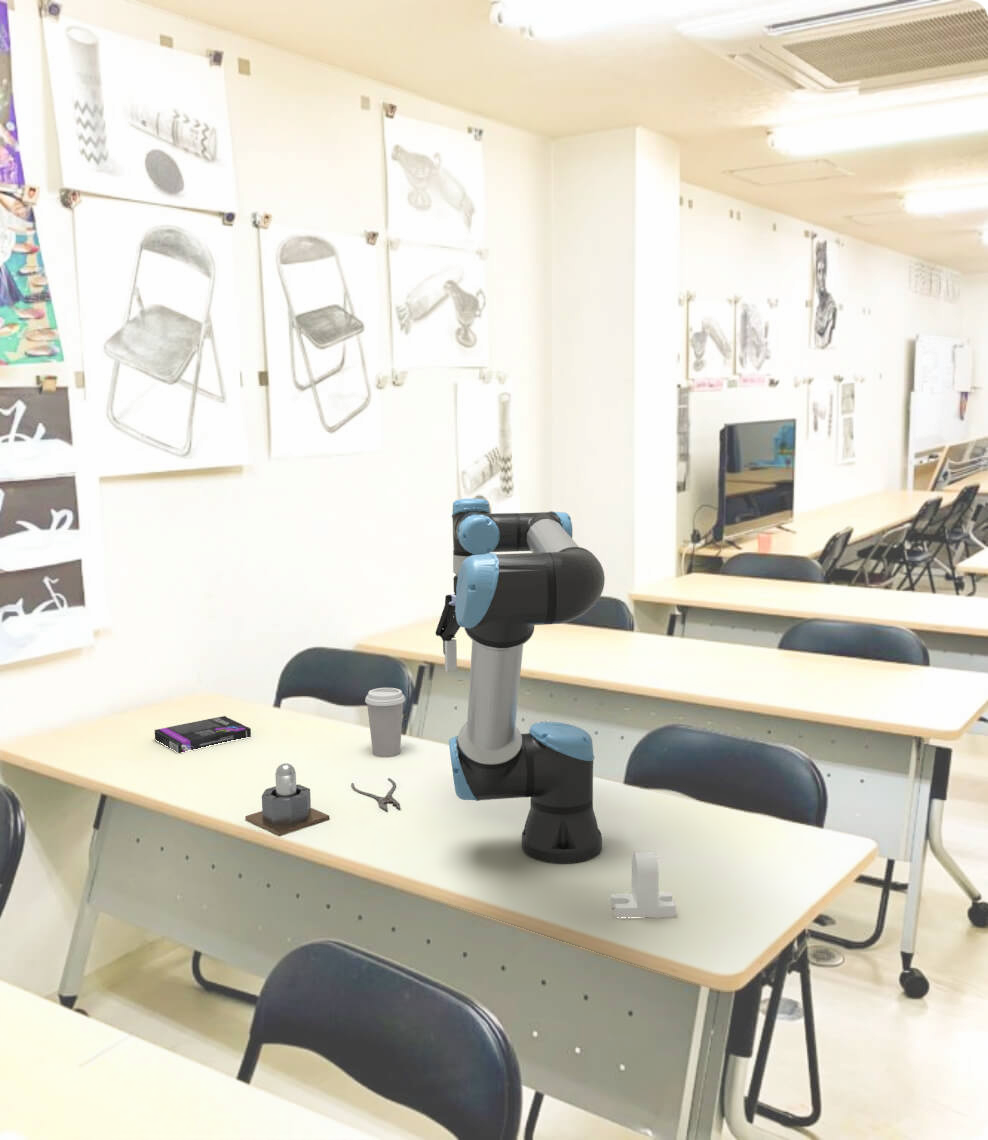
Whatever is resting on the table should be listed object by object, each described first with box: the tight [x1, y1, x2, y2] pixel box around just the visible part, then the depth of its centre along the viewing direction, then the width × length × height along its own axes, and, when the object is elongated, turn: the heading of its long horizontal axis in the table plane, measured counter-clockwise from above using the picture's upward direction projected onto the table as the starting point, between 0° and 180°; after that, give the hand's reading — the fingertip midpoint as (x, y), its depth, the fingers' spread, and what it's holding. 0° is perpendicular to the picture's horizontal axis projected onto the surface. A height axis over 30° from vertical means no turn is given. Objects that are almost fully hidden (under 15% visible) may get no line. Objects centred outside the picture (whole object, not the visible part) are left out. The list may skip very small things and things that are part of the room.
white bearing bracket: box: [610, 851, 677, 918], centre depth 182 cm, size 5×10×10 cm, turn 93°
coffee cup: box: [364, 687, 406, 758], centre depth 264 cm, size 10×10×15 cm
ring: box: [261, 784, 312, 825], centre depth 223 cm, size 9×9×5 cm
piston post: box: [244, 763, 331, 837], centre depth 223 cm, size 12×12×12 cm
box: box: [154, 715, 252, 754], centre depth 278 cm, size 14×4×20 cm
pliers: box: [350, 777, 402, 813], centre depth 238 cm, size 10×1×20 cm
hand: (473, 676), depth 230 cm, fingers open, 13 cm apart
